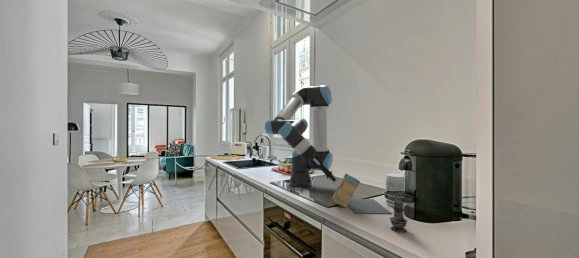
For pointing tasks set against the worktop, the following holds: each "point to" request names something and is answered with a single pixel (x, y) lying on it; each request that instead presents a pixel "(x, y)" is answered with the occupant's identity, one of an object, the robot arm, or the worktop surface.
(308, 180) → the robot arm
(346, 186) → the tall block
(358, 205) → the mat
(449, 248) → the worktop surface
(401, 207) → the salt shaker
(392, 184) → the supplement tub
